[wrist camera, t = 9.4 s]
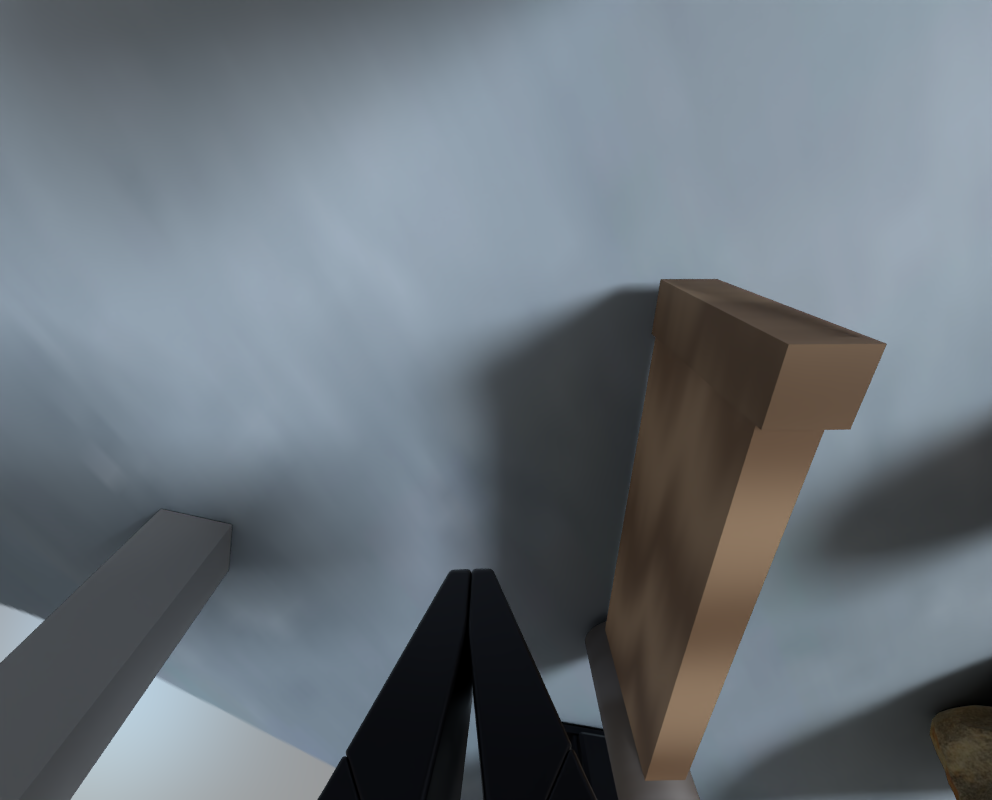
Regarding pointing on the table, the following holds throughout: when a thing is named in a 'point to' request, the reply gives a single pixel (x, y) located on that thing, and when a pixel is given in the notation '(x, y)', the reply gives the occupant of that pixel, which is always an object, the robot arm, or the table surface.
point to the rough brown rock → (965, 750)
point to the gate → (709, 510)
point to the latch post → (103, 653)
